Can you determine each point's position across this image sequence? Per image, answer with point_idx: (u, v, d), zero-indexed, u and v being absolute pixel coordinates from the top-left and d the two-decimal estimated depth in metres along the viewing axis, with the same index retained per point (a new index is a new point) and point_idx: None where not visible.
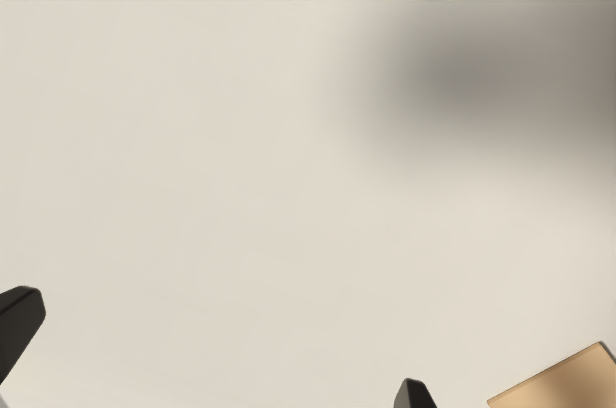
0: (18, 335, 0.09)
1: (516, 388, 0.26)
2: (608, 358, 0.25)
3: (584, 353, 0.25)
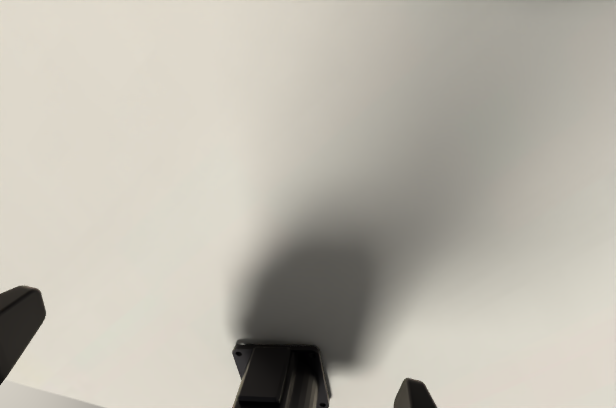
0: (18, 335, 0.09)
1: None
2: None
3: None
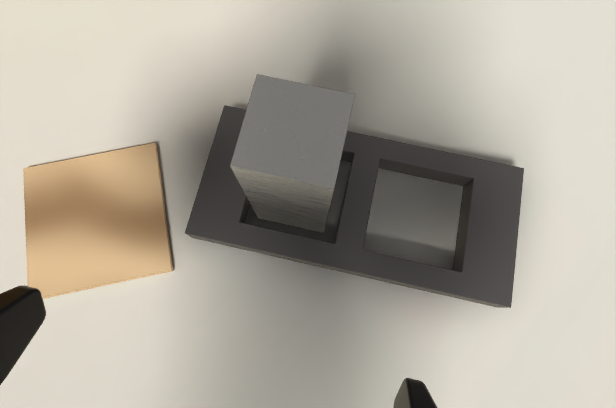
0: (18, 335, 0.09)
1: (28, 261, 0.22)
2: (41, 166, 0.24)
3: (24, 184, 0.23)
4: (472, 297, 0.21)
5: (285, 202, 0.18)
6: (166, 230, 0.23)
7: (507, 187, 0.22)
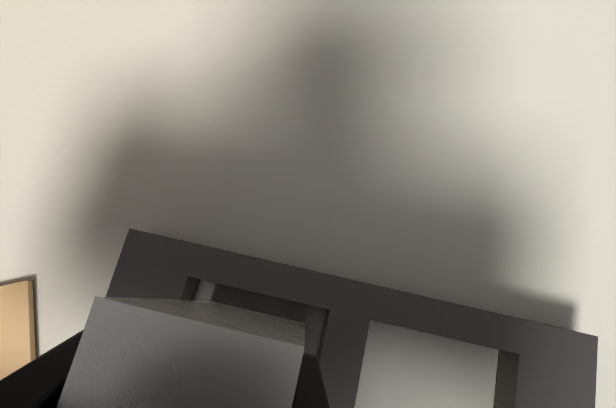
0: None
1: None
2: None
3: None
4: None
5: None
6: None
7: (573, 371, 0.14)
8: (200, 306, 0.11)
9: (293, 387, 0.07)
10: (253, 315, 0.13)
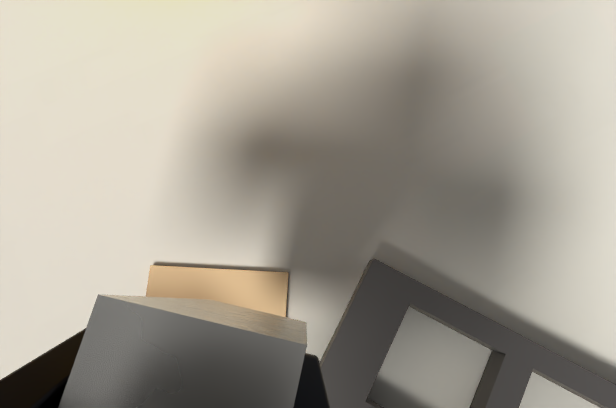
0: None
1: None
2: (168, 268, 0.23)
3: None
4: None
5: None
6: None
7: None
8: (202, 305, 0.11)
9: (295, 384, 0.07)
10: (254, 314, 0.13)
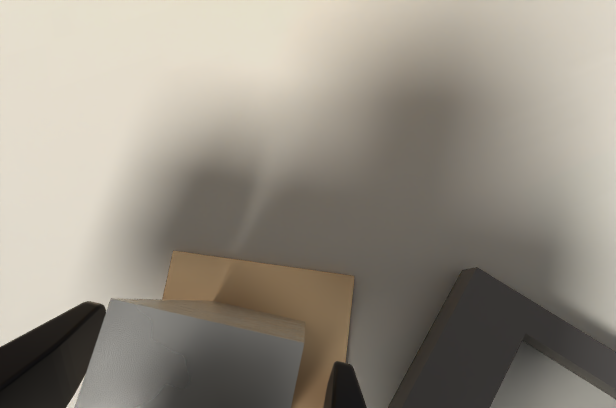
0: (86, 352, 0.09)
1: None
2: (196, 256, 0.17)
3: None
4: None
5: None
6: None
7: None
8: (205, 306, 0.12)
9: (294, 380, 0.08)
10: (255, 314, 0.14)
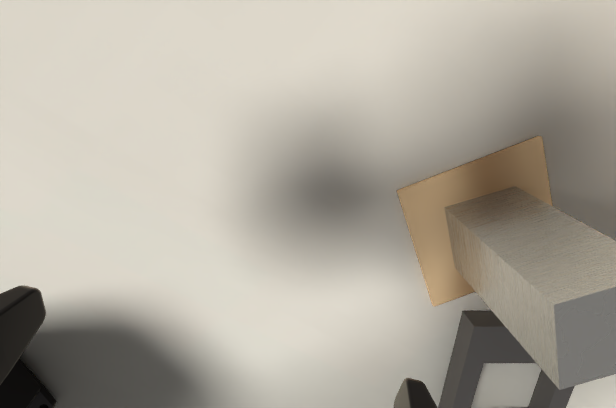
0: (18, 335, 0.09)
1: (436, 176, 0.21)
2: (542, 156, 0.21)
3: (522, 144, 0.21)
4: None
5: (499, 289, 0.17)
6: (470, 292, 0.24)
7: None
8: None
9: None
10: None
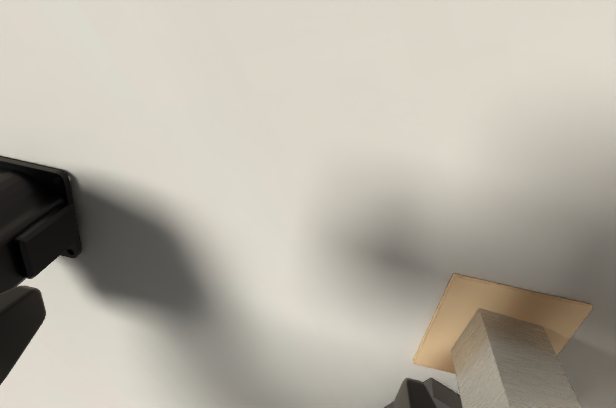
0: (18, 335, 0.09)
1: (491, 284, 0.23)
2: (580, 320, 0.23)
3: (574, 303, 0.22)
4: None
5: (484, 407, 0.20)
6: (447, 370, 0.27)
7: None
8: None
9: None
10: None
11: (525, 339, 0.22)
